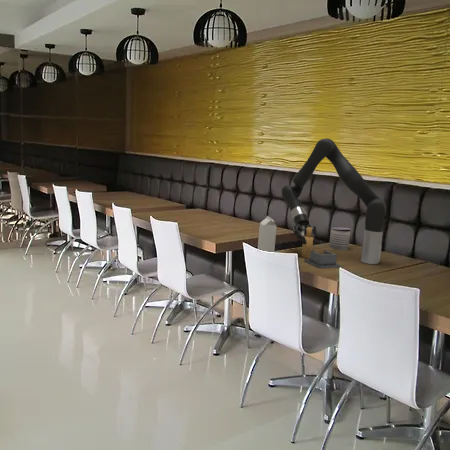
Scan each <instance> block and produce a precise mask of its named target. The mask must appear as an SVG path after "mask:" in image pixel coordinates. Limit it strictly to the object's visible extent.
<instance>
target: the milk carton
mask: <svg viewBox="0 0 450 450" xmlns="http://www.w3.org/2000/svg"><path fill="white" fill-rule="evenodd" d="M276 236H277V224H276V223H275V219H273V218H272V217H270V216H269V215H266V217H265V218H264V219H263V220H261V221H260V222H259V230H258V238H257V239H258V241H257V250H258V249H261V250H264V251H270V252H274V253H275V245H276V238H277V237H276Z"/></svg>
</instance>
